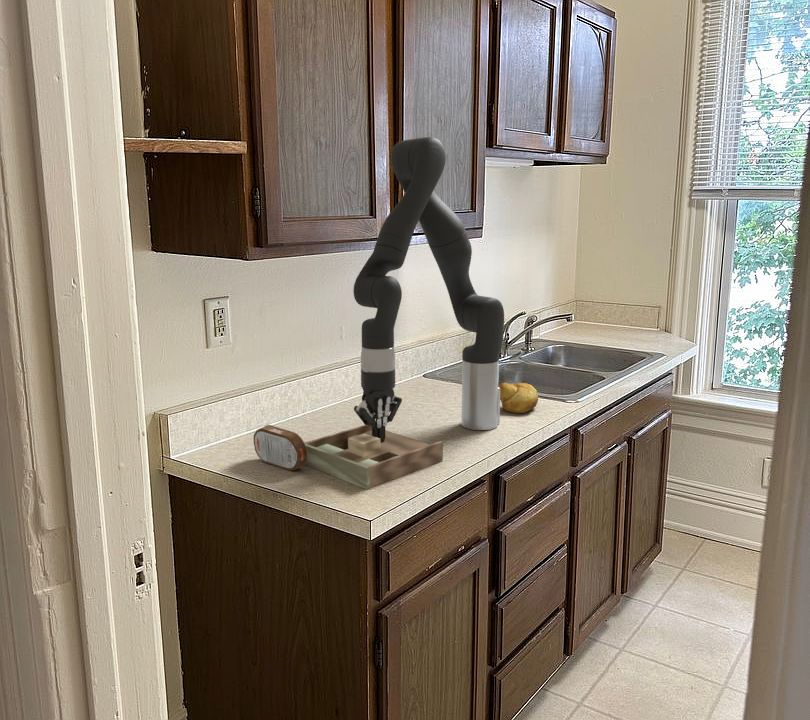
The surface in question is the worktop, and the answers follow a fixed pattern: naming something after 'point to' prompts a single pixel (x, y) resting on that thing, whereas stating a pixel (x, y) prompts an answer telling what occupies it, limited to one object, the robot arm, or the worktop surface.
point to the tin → (280, 447)
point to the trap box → (371, 457)
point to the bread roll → (518, 397)
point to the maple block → (364, 445)
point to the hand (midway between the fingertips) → (378, 442)
